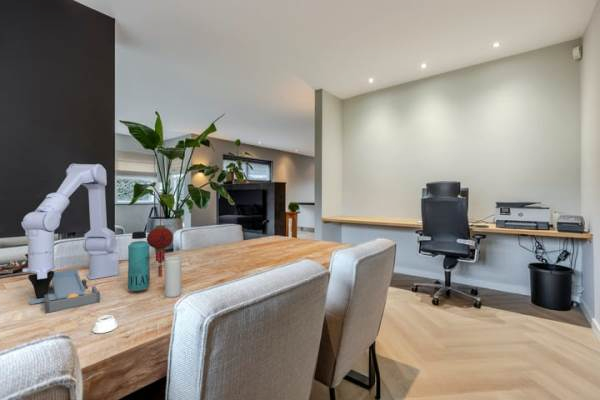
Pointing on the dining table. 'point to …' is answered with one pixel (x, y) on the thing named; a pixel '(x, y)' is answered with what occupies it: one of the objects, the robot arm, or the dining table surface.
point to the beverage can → (172, 277)
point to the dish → (71, 301)
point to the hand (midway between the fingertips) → (41, 297)
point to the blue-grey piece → (63, 285)
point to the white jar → (105, 324)
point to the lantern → (160, 242)
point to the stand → (53, 290)
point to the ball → (72, 295)
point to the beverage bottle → (138, 263)
